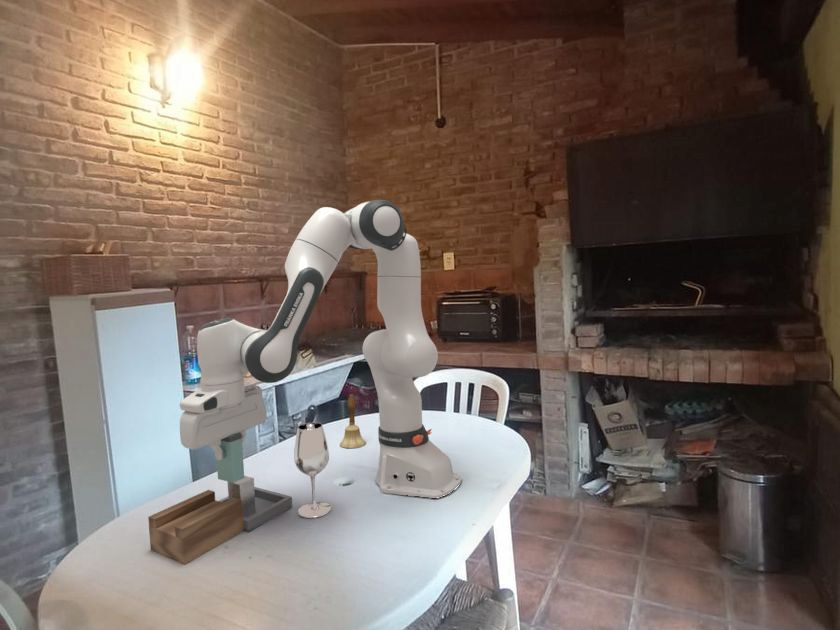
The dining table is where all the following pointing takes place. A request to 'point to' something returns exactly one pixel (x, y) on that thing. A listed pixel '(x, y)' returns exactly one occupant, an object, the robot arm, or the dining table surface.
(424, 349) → the robot arm
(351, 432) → the hand bell
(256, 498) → the tray
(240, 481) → the steel block
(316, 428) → the wineglass
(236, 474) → the green grey block
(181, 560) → the groove board
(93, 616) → the dining table surface
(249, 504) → the steel block
